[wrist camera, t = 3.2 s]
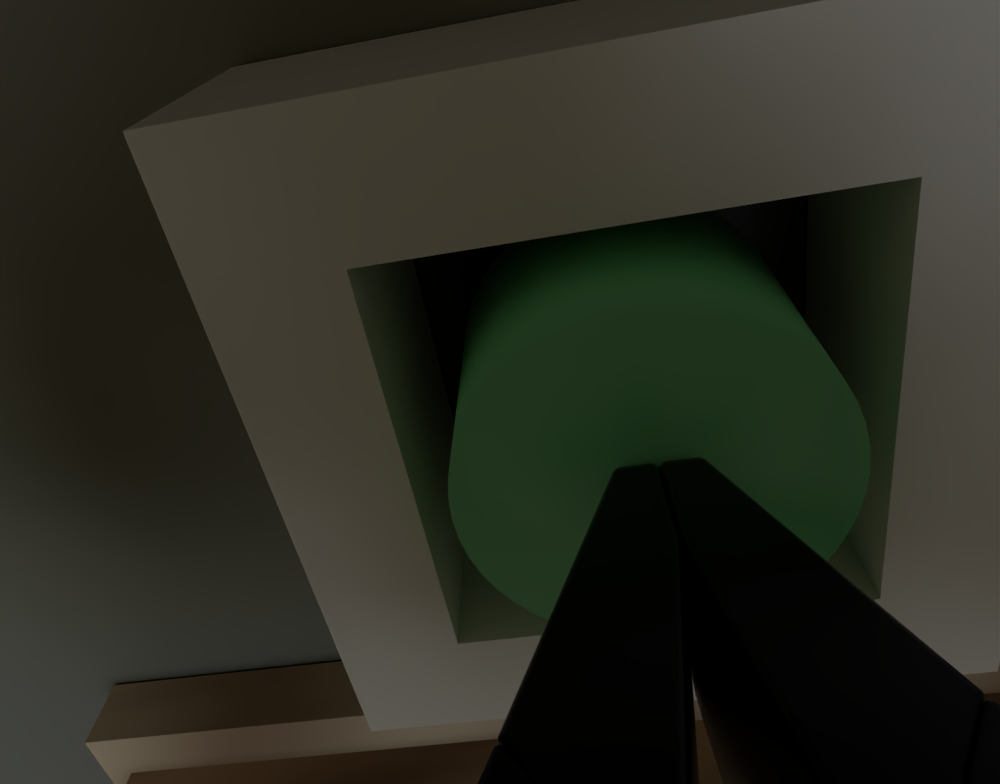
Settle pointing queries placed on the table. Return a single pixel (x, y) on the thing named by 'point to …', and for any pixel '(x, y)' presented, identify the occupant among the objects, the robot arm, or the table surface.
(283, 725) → the pallet board
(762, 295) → the button
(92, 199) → the table surface
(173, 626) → the table surface
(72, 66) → the table surface
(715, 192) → the button console
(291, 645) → the table surface
